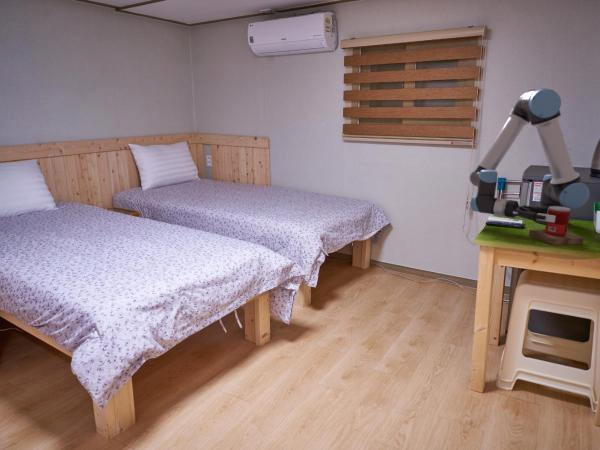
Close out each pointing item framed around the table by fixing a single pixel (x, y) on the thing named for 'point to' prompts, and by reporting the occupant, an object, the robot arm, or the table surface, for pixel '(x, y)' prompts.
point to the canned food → (558, 221)
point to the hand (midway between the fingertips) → (559, 216)
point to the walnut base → (556, 238)
